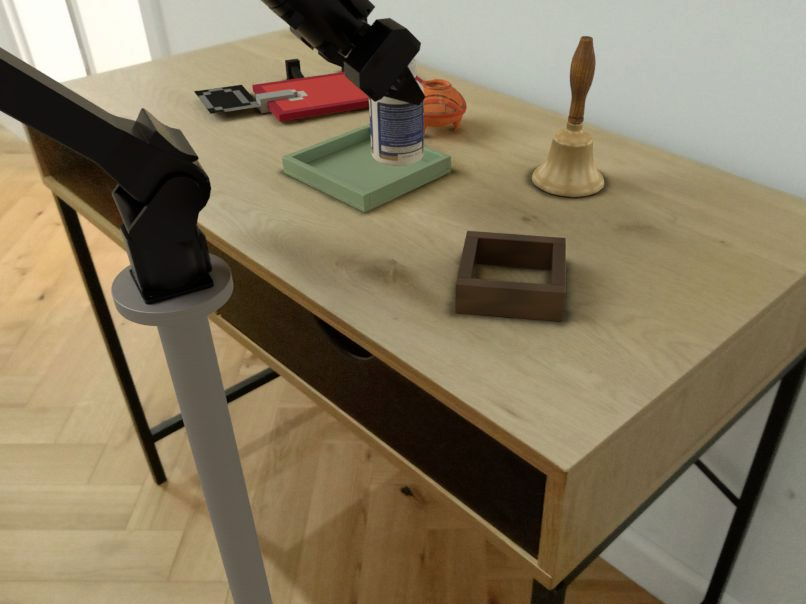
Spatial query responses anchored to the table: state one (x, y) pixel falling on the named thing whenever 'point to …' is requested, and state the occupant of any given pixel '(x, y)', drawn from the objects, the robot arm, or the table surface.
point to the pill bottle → (397, 129)
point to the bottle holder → (507, 294)
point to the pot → (442, 104)
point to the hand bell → (573, 137)
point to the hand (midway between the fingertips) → (409, 91)
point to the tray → (361, 170)
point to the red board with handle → (290, 95)
